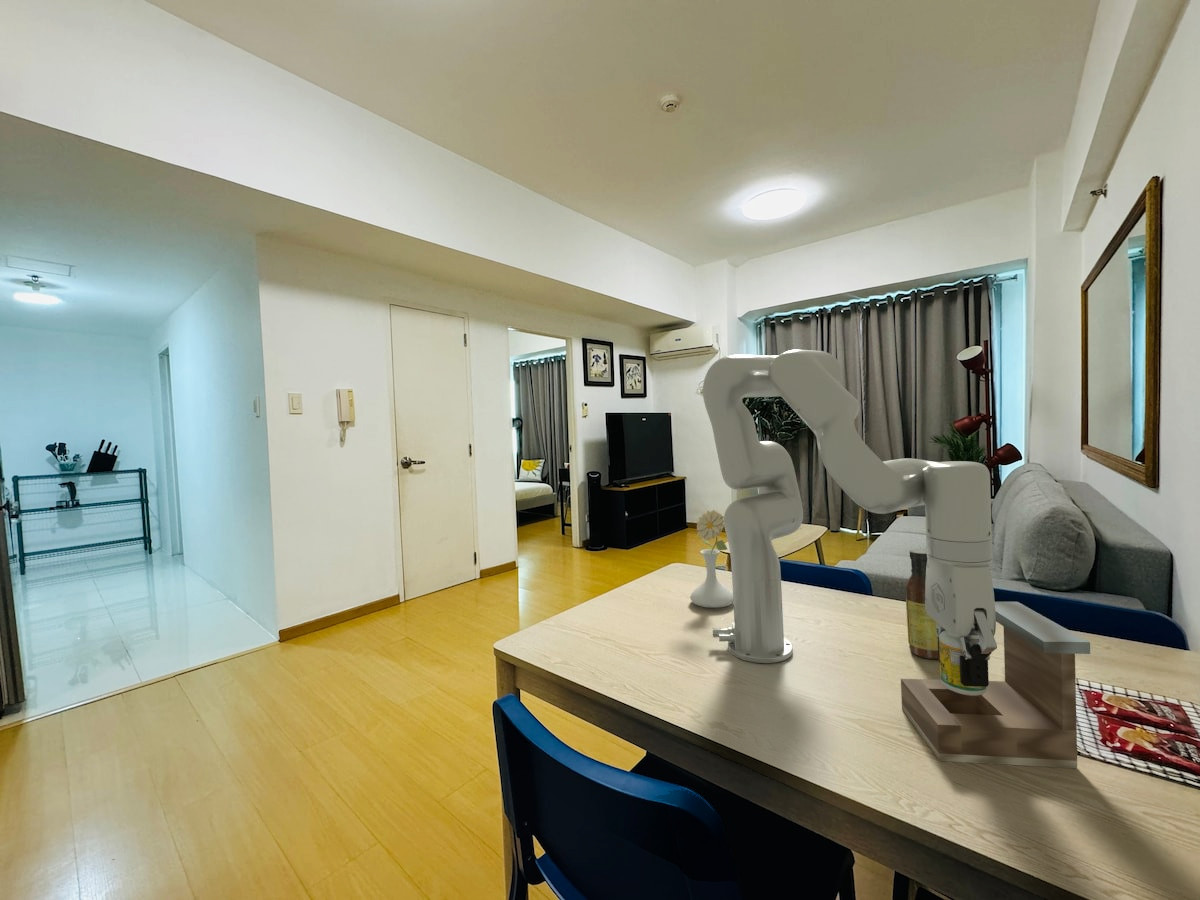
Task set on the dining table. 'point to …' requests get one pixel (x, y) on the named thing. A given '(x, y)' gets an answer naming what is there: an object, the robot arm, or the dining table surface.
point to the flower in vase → (711, 564)
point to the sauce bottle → (919, 610)
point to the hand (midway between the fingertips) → (962, 672)
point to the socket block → (1008, 700)
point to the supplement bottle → (954, 664)
